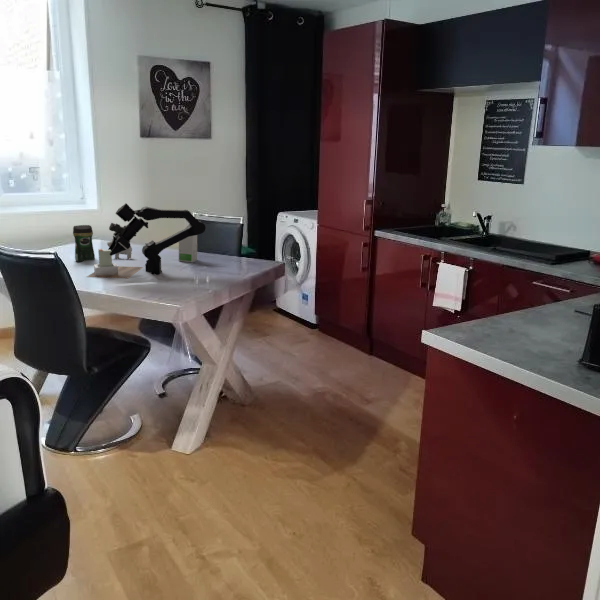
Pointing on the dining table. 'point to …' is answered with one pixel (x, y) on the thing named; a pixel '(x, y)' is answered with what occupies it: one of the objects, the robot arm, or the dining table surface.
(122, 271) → the walnut board
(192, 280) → the dining table surface
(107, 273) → the keyed slot
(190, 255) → the skincare box
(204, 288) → the dining table surface
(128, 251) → the dog figurine
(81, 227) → the coffee jar
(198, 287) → the dining table surface
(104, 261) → the keyed peg
